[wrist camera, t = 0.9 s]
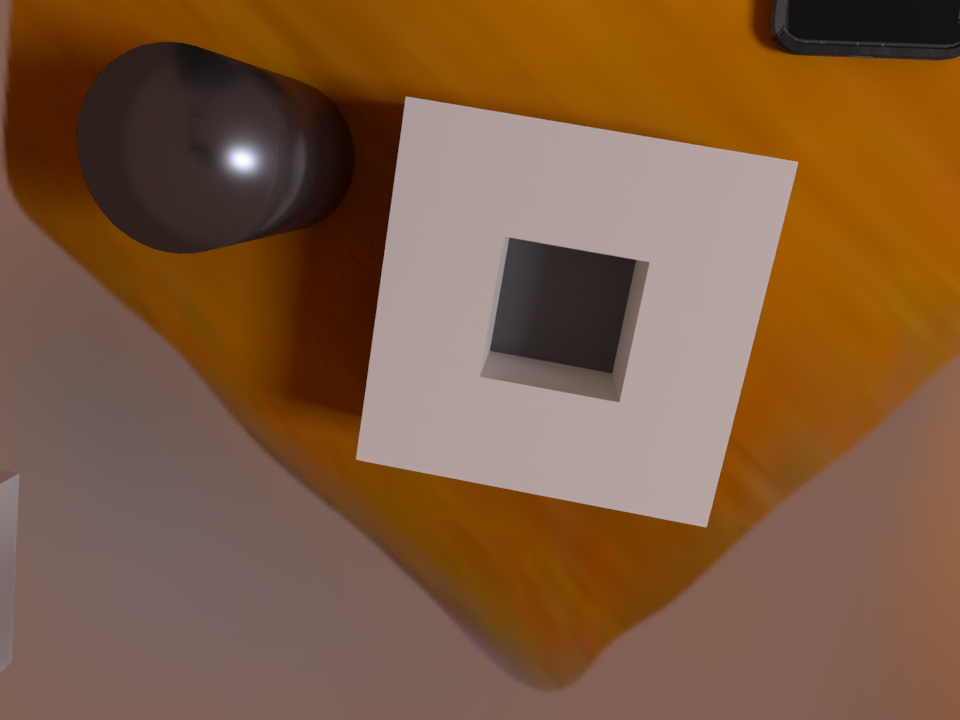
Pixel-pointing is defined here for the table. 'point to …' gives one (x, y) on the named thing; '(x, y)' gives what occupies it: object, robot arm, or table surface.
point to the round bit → (209, 149)
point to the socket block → (568, 308)
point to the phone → (868, 28)
